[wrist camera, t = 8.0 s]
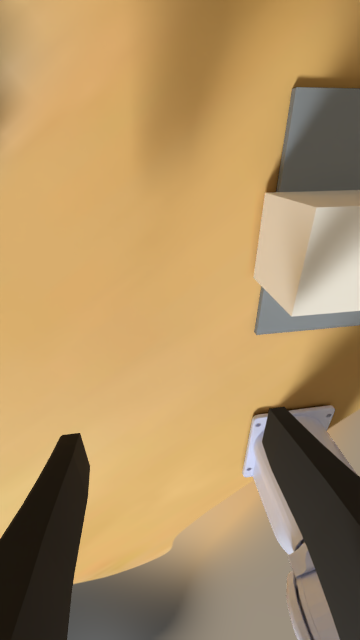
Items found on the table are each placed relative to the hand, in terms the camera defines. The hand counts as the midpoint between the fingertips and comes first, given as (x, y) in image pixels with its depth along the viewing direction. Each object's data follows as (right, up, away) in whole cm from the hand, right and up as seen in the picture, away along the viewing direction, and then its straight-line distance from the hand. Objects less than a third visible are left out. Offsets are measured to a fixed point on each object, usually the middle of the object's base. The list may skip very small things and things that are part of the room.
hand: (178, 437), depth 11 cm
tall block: (+5, +8, +4) cm, 10 cm away
